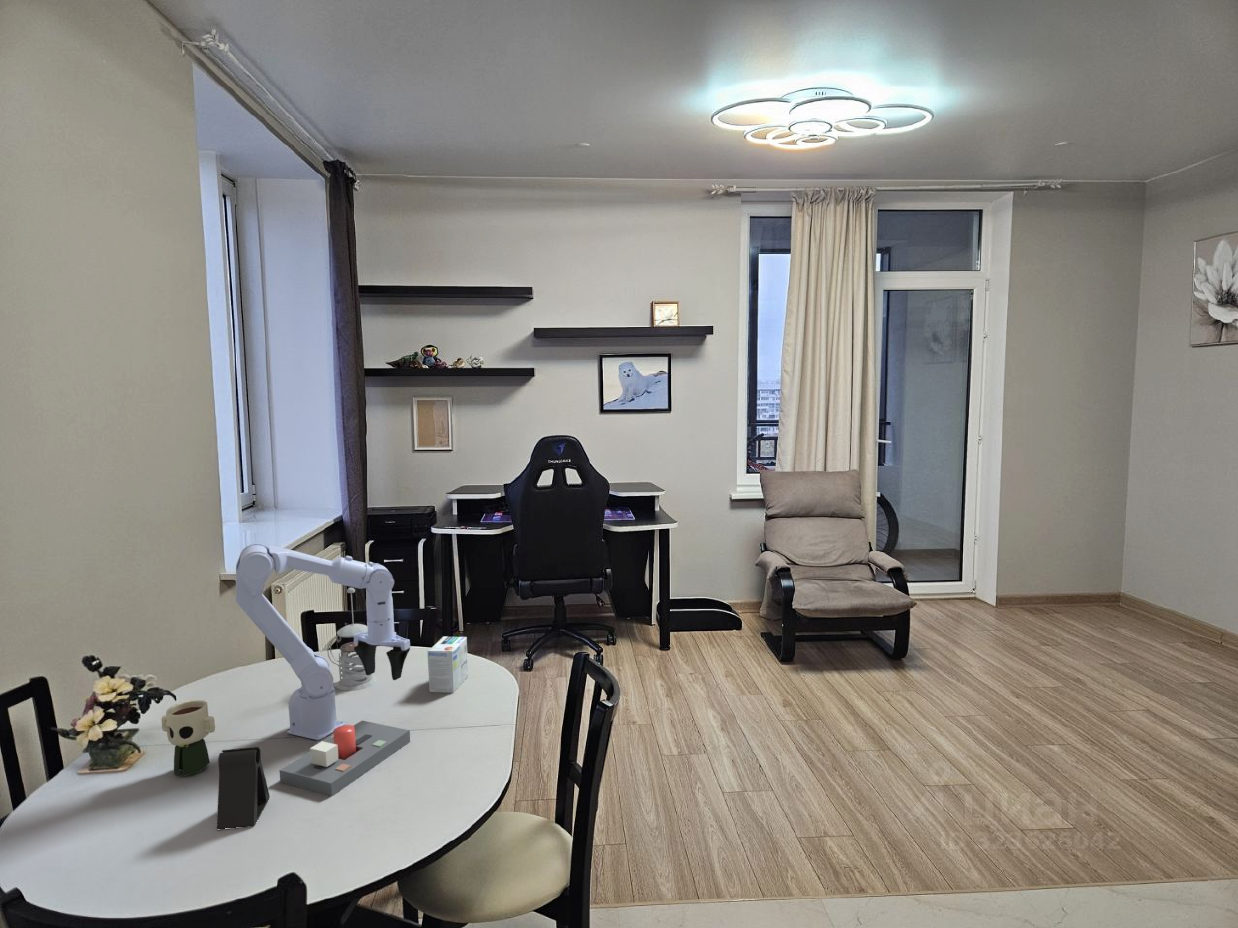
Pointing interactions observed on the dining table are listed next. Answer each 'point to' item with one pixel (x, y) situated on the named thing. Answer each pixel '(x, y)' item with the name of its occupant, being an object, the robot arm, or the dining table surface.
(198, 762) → the character mug
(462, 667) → the light bulb box
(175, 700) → the dining table surface
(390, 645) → the robot arm
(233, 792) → the phone stand
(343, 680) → the french press
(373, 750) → the breaker panel
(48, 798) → the dining table surface
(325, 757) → the lever
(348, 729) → the pin
